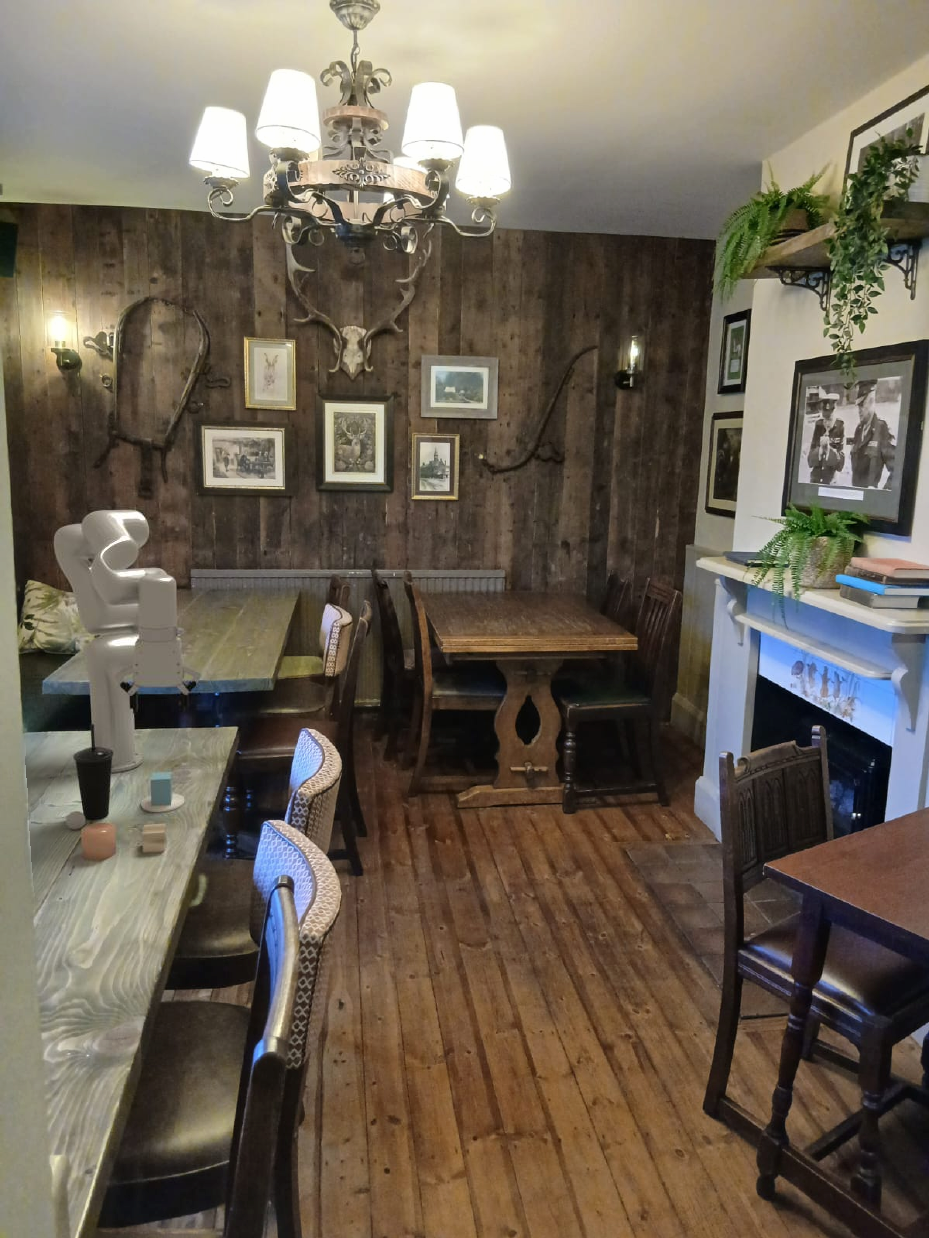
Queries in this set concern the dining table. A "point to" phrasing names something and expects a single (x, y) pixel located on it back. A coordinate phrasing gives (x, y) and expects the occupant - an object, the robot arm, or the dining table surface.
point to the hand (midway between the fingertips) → (159, 711)
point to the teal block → (161, 789)
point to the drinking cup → (94, 779)
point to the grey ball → (75, 820)
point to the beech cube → (154, 838)
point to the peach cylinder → (98, 841)
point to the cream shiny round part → (175, 804)
